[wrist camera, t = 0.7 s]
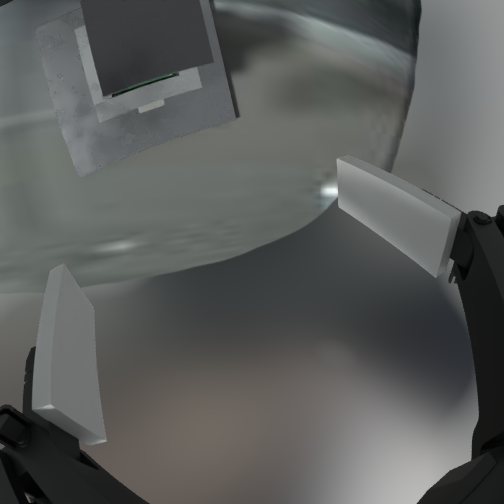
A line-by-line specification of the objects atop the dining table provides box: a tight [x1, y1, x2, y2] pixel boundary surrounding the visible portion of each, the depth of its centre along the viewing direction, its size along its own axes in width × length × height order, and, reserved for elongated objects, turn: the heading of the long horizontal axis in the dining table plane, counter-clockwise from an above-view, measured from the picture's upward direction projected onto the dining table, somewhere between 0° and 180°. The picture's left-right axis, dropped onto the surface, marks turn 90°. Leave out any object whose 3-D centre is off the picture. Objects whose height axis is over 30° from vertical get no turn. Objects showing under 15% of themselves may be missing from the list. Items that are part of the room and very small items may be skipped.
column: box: [80, 0, 214, 97], centre depth 20 cm, size 6×6×21 cm
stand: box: [35, 0, 236, 178], centre depth 25 cm, size 22×22×11 cm
